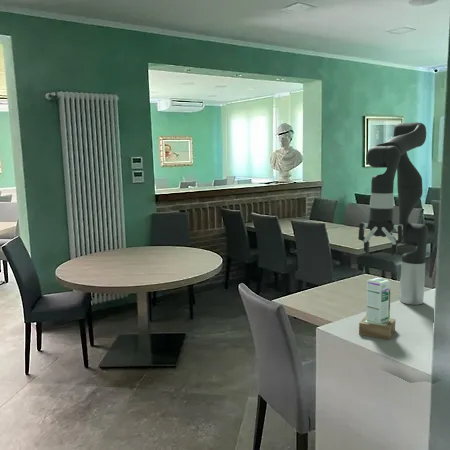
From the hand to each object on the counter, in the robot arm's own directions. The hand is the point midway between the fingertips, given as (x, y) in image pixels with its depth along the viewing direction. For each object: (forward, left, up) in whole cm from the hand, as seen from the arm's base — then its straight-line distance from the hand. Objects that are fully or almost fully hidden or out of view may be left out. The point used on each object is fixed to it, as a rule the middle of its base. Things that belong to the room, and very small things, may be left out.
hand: (379, 253), depth 158 cm
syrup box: (0, 0, -24) cm, 24 cm away
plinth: (0, 0, -28) cm, 28 cm away
